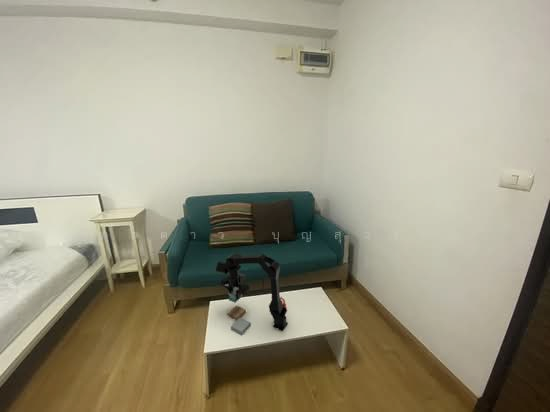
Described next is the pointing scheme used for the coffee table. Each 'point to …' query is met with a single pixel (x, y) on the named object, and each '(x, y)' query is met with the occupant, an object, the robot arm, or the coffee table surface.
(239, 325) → the stand
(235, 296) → the housing
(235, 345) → the coffee table surface
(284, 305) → the alarm clock
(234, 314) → the stand
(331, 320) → the coffee table surface
